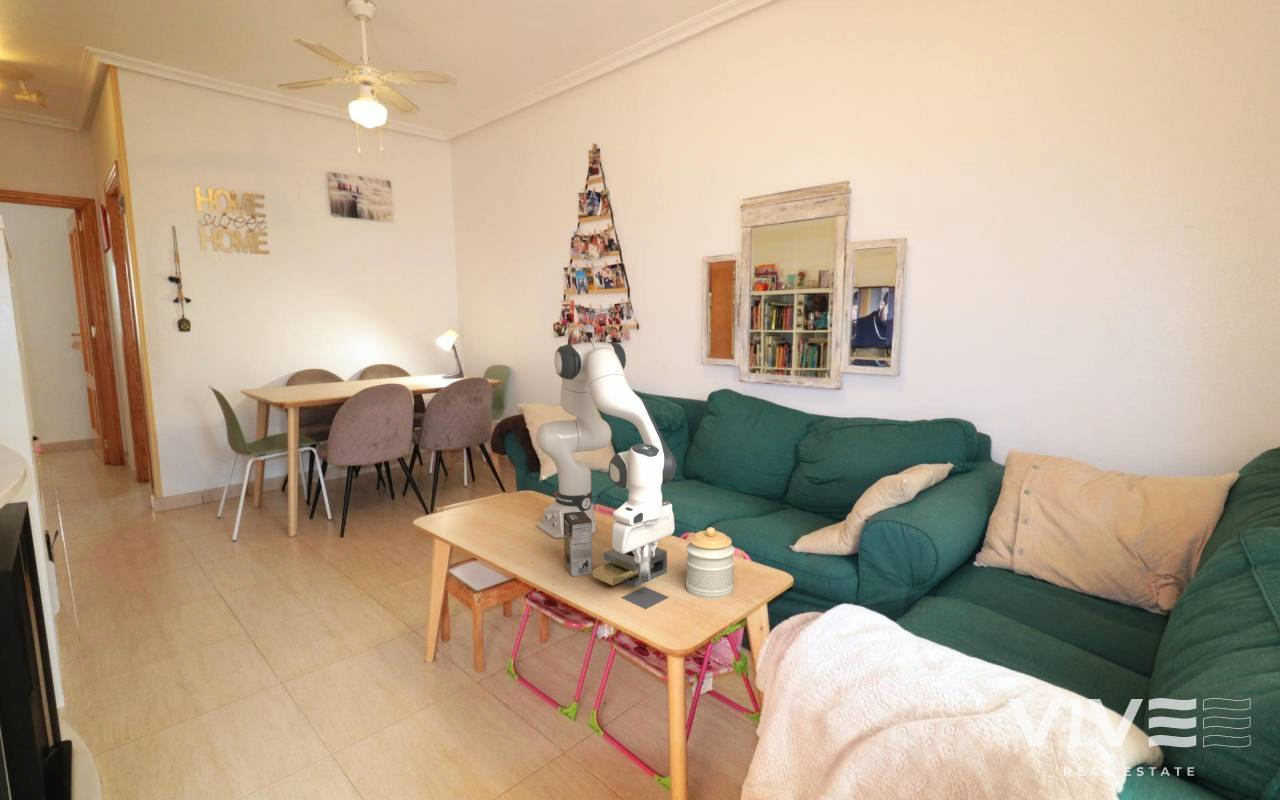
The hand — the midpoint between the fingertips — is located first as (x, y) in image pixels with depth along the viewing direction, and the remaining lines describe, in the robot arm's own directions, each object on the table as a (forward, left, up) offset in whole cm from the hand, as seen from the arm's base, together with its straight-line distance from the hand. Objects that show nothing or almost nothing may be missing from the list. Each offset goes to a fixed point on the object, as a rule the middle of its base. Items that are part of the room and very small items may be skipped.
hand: (644, 559), depth 153 cm
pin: (0, 0, -6) cm, 6 cm away
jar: (+9, +16, -11) cm, 21 cm away
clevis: (-12, +6, -11) cm, 17 cm away
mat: (0, 0, -11) cm, 11 cm away
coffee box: (-27, 0, -11) cm, 29 cm away
